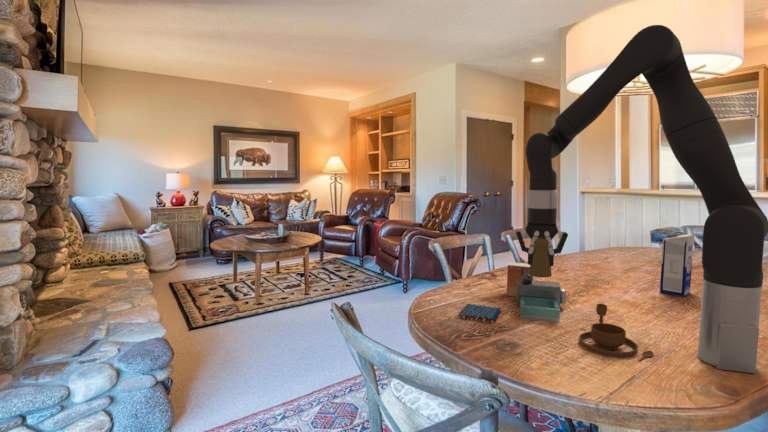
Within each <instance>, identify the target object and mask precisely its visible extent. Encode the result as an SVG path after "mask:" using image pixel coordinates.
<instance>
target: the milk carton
mask: <svg viewBox="0 0 768 432" xmlns="http://www.w3.org/2000/svg"><path fill="white" fill-rule="evenodd" d="M694 237H695V234H693V233H692V234H690V233H689V234H681V235H678V233H675V232H674V233H669V234H666V238H663V239H662V248H661V249H662V251H661V266H660V267H661V268H660V281H659V282H660V285H659V293H662V294H667V295H673V296H678V297H686V296H687V295H689V294H690V293H691V286H692V285H691V284H692V283H691V282H692V281H691V280H692V269H693V267H692V266H693V255H694V241H695V240H694V239H695V238H694Z"/></svg>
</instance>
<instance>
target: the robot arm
mask: <svg viewBox="0 0 768 432" xmlns="http://www.w3.org/2000/svg"><path fill="white" fill-rule="evenodd" d="M640 75H642V76H643V77H644V79H645V80H646V83H648V85H649V88H650V89H651V91H652V92H653V94H654V96H655V98H656V103H657V107H658V112H659V118H660V123H661V127H662V131H663V133H664V136H665V138H666V140H667V143H668V145H669V147H670V150H671V152H672V153H673V156H674V157H675V159H676V161H677V162H678V164H679V165H680V166H681V167H682V169H683V170H684V172H685V173H686V174H687V175H688V176H689V178H690V179H691V180H692V181H693V183H694V184H695V185H696V187H697V188H698V190H699V193H700V194H701V197H702V198H703V201H704V204H705V207H706V210H707V213H708V216H707V218H706V219H705V222H704V225H703V230H702V249H701V251H702V252H701V255H702V256H701V265H702V266H701V267H702V270H703V273H702V274H703V277H702V278H703V279H702V291H701V292H702V293H701V305H700V315H699V318H700V319H699V334H698V348H697V349H698V350H697V356H698V358H699V359H700V360H701V361H702V362H704V363H706V364H708V365H710V366H713V367H715V368H716V369H718V370H725V371H730V372H741V373H748V374H756V370H757V359H758V349H759V348H758V347H759V336H760V327H759V326H760V315H761V304H762V296H763V295H762V293H763V292H762V291H763V283H764V282H763V281H764V271H763V260H764V259H763V258H764V246H765V245H764V244H765V239H766V237H767V235H768V217H767V216H766V214H765V212H763V210H762V209H761V207H760V206H759V204H758V203H757V202H756V200H755V199H754V197H753V195H752V193H751V192H750V191H749V189H748V186H746V184H745V182H744V181H743V177H741V174H740V172H739V169H738V166H737V163H736V161H735V157H734V154H733V152H732V149H731V147H730V144H729V141H728V140H727V138H726V135H725V133H724V130H723V128H722V126H721V124H720V122H719V120H718V118H717V116H716V114H715V112H714V111H713V109H712V107H711V106H710V105H709V104H710V103H708V101H707V99H706V98H705V96H704V95H703V94H702V92H701V91H700V90H699V88H698V87H697V85H696V83H695V81H694V80H693V78H692V76H691V73H690V70H689V67H688V65H687V62H686V58H685V54H684V52H683V47H682V45H681V41H680V39H679V38H678V37H677V35H676V34H675V33H674V32H673V31H672V29H671V28H669V27H668V26H665V25H662V24H653V25H649V26H645V27H644V28H642V29H641V30H640V31H638V32H637V33H635V35H634V36H632V38H631V39H630V40H629V41H628V42H627V43H626V45H625V46H624V47H623V48H622V49H621V50H620V52H619V53H618V54H617V56H616V57H615V58H614V60H613V61H612V62H610V64H609V65H608V66H607V67H606V68H605V70H603V72H602V73H601V74H600V75H599V76H598V78H597V79H595V81H594V82H592V84H590V86H589V87H587V89H586V90H585V91H584V92H583V93H581V94H580V96H578V97H577V98H576V99H575V100H574V101H573V102H572V103H570V104H569V106H567V107H566V108H565V109H564V110H563V111H562V112H561V113H560V114H559V115H558V116H557V117H556V118H555V121H554V126H553V127H552V128H551V129H550V130H549V131H548V132H537V133H533V134H532V135H531V136H530V137H529V139H528V140H527V143H526V147H525V157H526V163H527V168H528V172H529V180H528V181H529V186H528V196H527V225H526V227H525V228H524V229H520V230H519V229H518V230H516V231H515V233H516V234H515V235H516V238H517V240H518V243H519V246H520V250H521V251H522V252H525V253H526V254H527V264H528V265H530V267H531V265H532V260H533V250H534V241H535V240H536V239H537V238H538V237H545V238H546V239H547V240H548V239H549V240H548V242H550V243H549V246H548V247H549V248H548V249H549V263H550V268H551V269H552V267H554V262H555V260H554V259H555V258H554V256H555V255H556V254H561V253H562V251H563V249H564V247H565V243H566V241H567V239H568V237H569V234H568V232H566V231H562V230H559V229H558V227H557V226H558V225H557V217H558V216H557V214H558V213H557V212H558V196H557V195H558V194H557V188H558V187H557V185H558V184H557V183H558V182H557V180H558V179H557V178H558V174H557V171H556V170H555V169H554V168H553V161H552V160H553V159H554V158H556V157H557V156H559V155H560V154H561V153H563V152H564V151H565V149H566V148H568V146H569V145H570V144H571V143H572V142H573V141H574V140H575V137H576V136H578V135H579V134H581V133H582V132H583V131H584V130H585V129H586V128H587V127H589V126H590V125H591V124H592V123H594V122H595V121H596V120H597V119H598V118H599V117H600V116H601V114H603V112H604V111H605V110H606V109H607V108H608V107H609V105H610V104H611V102H612V101H613V100H614V99H615V98H616V97H617V95H618V94H619V93H620V92H621V91H622V90H623V89H624V88H625V87H626V86H627V85H628V84H630V83H631V82H632V81H634V80H635V79H636V78H637V77H639V76H640ZM525 234H527V236H528V237H529V238H530V242H529V246H528V247H527V246H526V244H525V241H524V238H525V236H526V235H525ZM557 235H558V236H557ZM555 236H557V237H558V239H559V240H558V242H557V245H556V247H555V248H554V247H553V242H552V240H553V239H554V238H555ZM531 240H532V241H531Z"/></svg>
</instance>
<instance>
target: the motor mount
mask: <svg viewBox="0 0 768 432" xmlns="http://www.w3.org/2000/svg"><path fill="white" fill-rule="evenodd" d="M566 302H567V291H566V288H561V284H560V282H559V281H548V280H535V279H534V280H533V276H531V275H529V273H524V274H523V280H521V279H517V297H516V307H517V308H519V309H520V310H519V315H520V316H519V317H520V318H519V319H520V320H527V321H528V320H529V321H540V322H547V323H549V322H550V323H558V324H559V323H561V320H560V318H561V305H565V304H566Z"/></svg>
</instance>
